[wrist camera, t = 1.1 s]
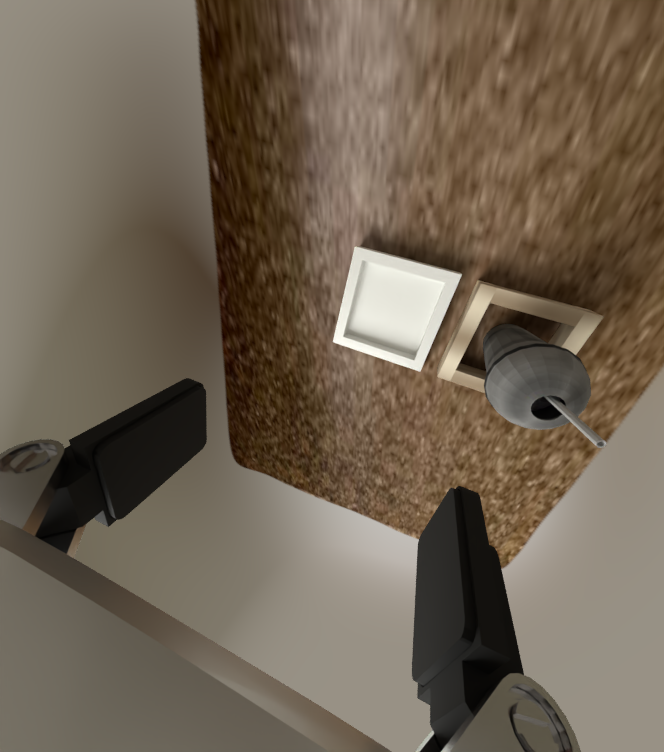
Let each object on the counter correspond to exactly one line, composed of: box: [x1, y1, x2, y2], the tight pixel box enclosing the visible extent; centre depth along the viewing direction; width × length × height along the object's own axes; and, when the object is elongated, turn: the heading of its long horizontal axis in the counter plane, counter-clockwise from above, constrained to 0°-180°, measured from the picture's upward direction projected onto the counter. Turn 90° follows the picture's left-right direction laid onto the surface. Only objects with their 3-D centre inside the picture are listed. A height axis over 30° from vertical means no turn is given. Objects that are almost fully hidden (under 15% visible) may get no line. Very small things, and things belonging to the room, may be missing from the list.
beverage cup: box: [483, 324, 606, 448], centre depth 25 cm, size 7×7×20 cm
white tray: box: [333, 246, 462, 371], centre depth 35 cm, size 12×12×2 cm
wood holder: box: [437, 280, 604, 393], centre depth 32 cm, size 12×12×3 cm
